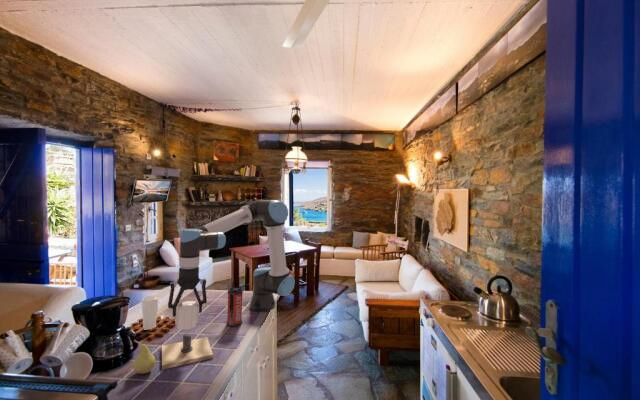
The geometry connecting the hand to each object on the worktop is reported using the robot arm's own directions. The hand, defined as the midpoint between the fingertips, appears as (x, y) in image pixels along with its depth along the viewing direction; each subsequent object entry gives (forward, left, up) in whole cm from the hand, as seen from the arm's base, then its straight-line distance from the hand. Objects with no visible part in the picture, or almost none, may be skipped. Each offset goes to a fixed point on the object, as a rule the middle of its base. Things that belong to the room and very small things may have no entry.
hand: (187, 322), depth 119 cm
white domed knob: (0, 0, -2) cm, 2 cm away
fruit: (+15, +7, -13) cm, 21 cm away
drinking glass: (+14, -31, -13) cm, 37 cm away
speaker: (-24, -20, -13) cm, 34 cm away
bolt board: (0, 0, -13) cm, 13 cm away
